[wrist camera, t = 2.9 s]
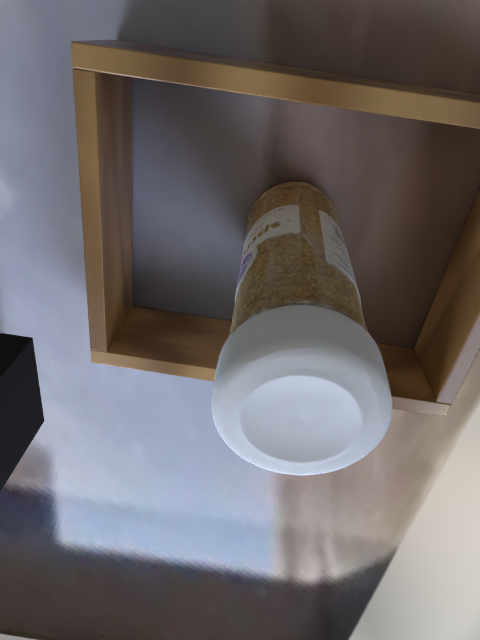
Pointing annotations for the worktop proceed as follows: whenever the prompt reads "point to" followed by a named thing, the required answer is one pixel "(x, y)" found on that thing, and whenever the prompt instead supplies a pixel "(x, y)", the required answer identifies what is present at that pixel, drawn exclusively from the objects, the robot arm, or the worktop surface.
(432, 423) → the worktop surface
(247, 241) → the spice bottle
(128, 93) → the wooden tray
